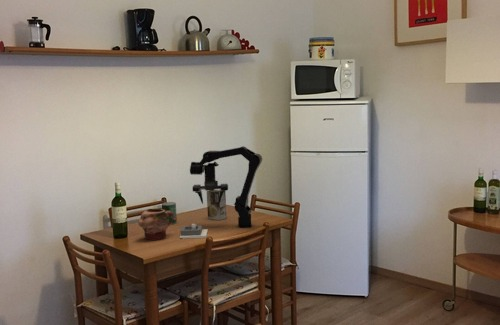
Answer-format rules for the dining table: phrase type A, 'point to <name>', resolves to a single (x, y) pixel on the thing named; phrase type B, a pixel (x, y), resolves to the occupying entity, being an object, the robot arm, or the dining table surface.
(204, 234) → the post stand
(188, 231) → the grey square frame
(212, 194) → the coffee box
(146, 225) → the decorative planter
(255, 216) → the dining table surface
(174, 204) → the canned tomato
